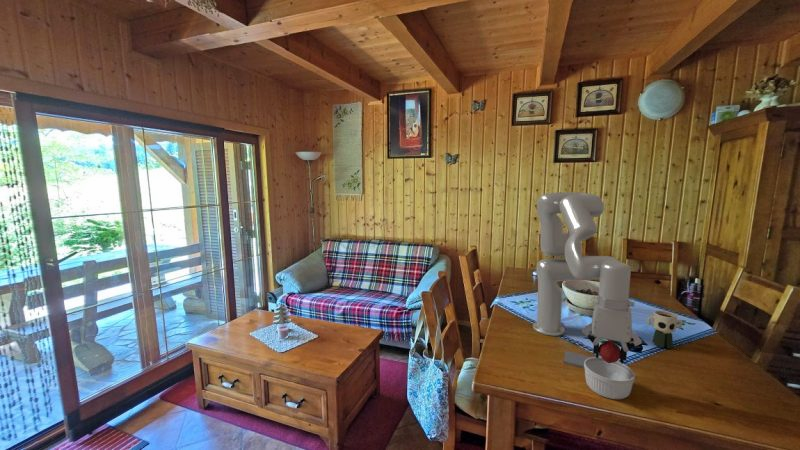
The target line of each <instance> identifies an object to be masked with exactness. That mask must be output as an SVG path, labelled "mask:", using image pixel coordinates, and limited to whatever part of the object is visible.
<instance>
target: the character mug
mask: <svg viewBox="0 0 800 450" xmlns="http://www.w3.org/2000/svg"><path fill="white" fill-rule="evenodd" d="M651 320H652V322H651ZM646 323H647V325H648V326H649V325H651V326H652V327H653V328H654V333H653V336H652V343H653V344H654V345H656V346H657V347H661V348H663V349H664V348H665V346H666V349H672V348H674V339H673V333H675V332H676V331H677V329H682V328H683V320H682V319H678V315H677V314H676V313H673V312H670V311H667V310H660V309H658V310H653V314H652V316H647V321H646Z"/></svg>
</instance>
